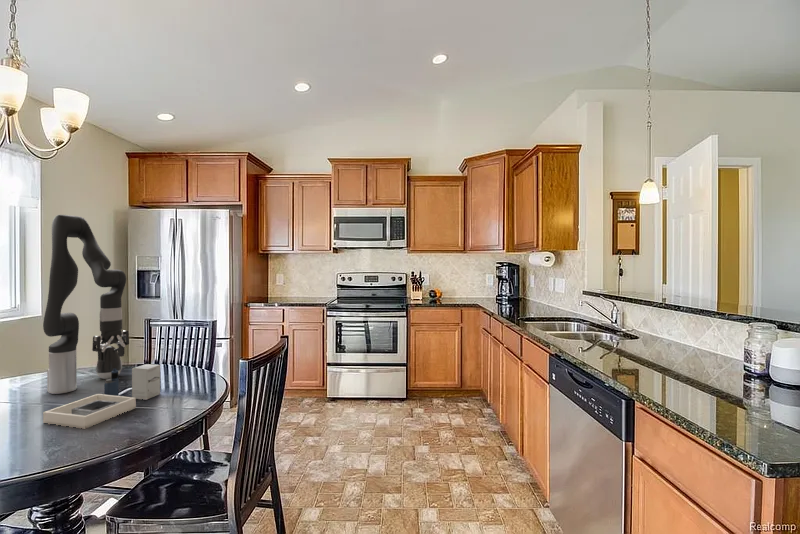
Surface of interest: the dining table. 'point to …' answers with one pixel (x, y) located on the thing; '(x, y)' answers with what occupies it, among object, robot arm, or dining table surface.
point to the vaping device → (112, 384)
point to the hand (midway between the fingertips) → (111, 358)
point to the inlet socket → (92, 407)
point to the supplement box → (145, 381)
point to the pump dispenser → (109, 363)
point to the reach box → (66, 417)
